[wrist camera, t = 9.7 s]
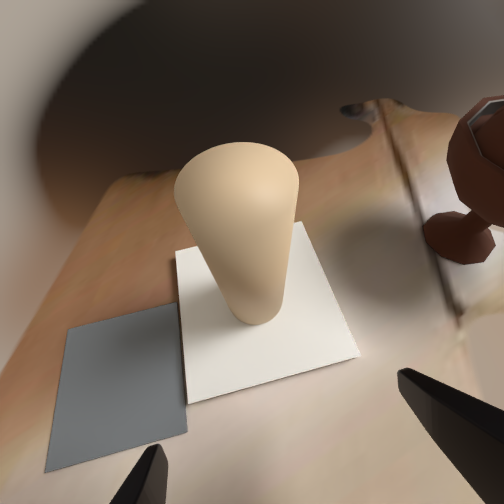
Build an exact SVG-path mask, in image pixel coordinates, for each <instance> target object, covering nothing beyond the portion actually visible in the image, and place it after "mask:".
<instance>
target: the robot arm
mask: <svg viewBox="0 0 504 504" xmlns="http://www.w3.org/2000/svg"><path fill="white" fill-rule="evenodd" d="M397 377H398V388H399V391H400V393H401V395H402V396H403V398H404V399H405V400H406V402H407V403H408V405H409V406H410V408H411V409H412V410H413V412H414V413H415V415H416V416H417V418H418V419H419V421H420V422H421V423H422V425H423V426H424V428H425V429H426V431H427V432H428V433H429V435H430V436H431V438H432V439H433V440H434V441H435V443H436V444H437V445H438V446H439V448H440V449H441V450H442V451H443V453H444V454H445V455H446V456H447V457H448V459H449V460H450V461H451V462H452V464H453V465H454V466H455V467H456V468H457V470H458V471H459V472H460V473H461V474H462V476H463V477H464V478H465V479H466V481H467V482H468V483H469V484H470V485H471V487H472V488H473V489H474V490H475V492H476V493H477V494H478V495H479V496H480V498H481V499H482V500H483V501H484V503H485V504H504V411H503V410H501V409H499V408H497V407H494V406H492V405H490V404H488V403H486V402H483V401H481V400H479V399H477V398H475V397H472V396H470V395H468V394H466V393H464V392H461V391H459V390H457V389H455V388H453V387H450V386H448V385H446V384H444V383H442V382H439V381H437V380H435V379H433V378H431V377H428V376H426V375H424V374H422V373H420V372H417V371H415V370H413V369H411V368H404V369H401V370H398V372H397ZM167 477H168V460H167V457H166V455H165V453H164V451H163V448H162V446H161V445H160V444H155V445H152V446H149V447H148V448H147V449H146V450H145V451H144V453H143V454H142V456H141V457H140V459H139V460H138V462H137V463H136V465H135V466H134V468H133V469H132V471H131V472H130V474H129V475H128V477H127V478H126V480H125V481H124V483H123V484H122V486H121V487H120V489H119V490H118V492H117V493H116V495H115V496H114V497H113V499H112V500H111V502H110V503H109V504H165V503H166V490H167Z"/></svg>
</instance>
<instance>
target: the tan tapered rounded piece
mask: <svg viewBox="0 0 504 504" xmlns="http://www.w3.org/2000/svg"><path fill="white" fill-rule="evenodd" d="M298 188H299V178H298V173H297V171H296V168H295V166H294V165H293V163H292V162H291V161H290V160H289V159H288V158H287V157H286V156H285V155H284V154H282V153H281V152H279V151H278V150H275V149H274V148H271V147H269V146H266V145H262V144H257V143H249V142H238V143H230V144H224V145H220V146H217V147H213V148H211V149H209V150H206V151H204V152H202V153H201V154H199V155H197V156H196V157H194V158H193V159H192V160H191V161H189V162H188V163H187V165H185V167H184V168H183V169H182V170H181V172H180V173H179V175H178V177H177V179H176V182H175V187H174V197H175V202H176V204H177V207H178V209H179V211H180V213H181V215H182V217H183V219H184V221H185V222H186V224H187V226H188V228H189V230H190V232H191V234H192V236H193V238H194V240H195V242H196V244H197V246H198V248H199V250H200V252H201V254H202V256H203V258H204V260H205V262H206V264H207V266H208V268H209V269H210V271H211V273H212V275H213V277H214V279H215V281H216V283H217V285H218V287H219V289H220V291H221V293H222V295H223V297H224V299H225V301H226V303H227V305H228V307H229V309H230V311H231V312H232V314H233V315H234V316H235V317H236V318H237V319H238V320H240V321H241V322H243V323H246V324H250V325H260V324H264V323H266V322H268V321H270V320H272V319H273V318H274V317H275V316H276V315H277V314H278V312H279V311H280V309H281V306H282V302H283V295H284V288H285V281H286V274H287V267H288V259H289V252H290V245H291V238H292V231H293V224H294V216H295V209H296V202H297V195H298Z"/></svg>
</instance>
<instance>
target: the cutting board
mask: <svg viewBox="0 0 504 504" xmlns="http://www.w3.org/2000/svg"><path fill="white" fill-rule="evenodd" d="M175 252H176V264H177V276H178V288H179V300H180V312H181V324H182V336H183V348H184V360H185V372H186V384H187V396H188V404H191V403H195V402H199V401H202V400H206V399H209V398H213V397H217V396H220V395H224V394H227V393H231V392H234V391H238V390H242V389H245V388H249V387H252V386H256V385H259V384H263V383H267V382H270V381H274V380H277V379H281V378H284V377H288V376H292V375H295V374H299V373H302V372H306V371H309V370H313V369H317V368H320V367H324V366H327V365H331V364H334V363H338V362H342V361H345V360H349V359H352V358H356V357H359V356H361V354H360V352H359V350H358V347H357V345H356V343H355V341H354V338H353V336H352V334H351V332H350V329H349V327H348V325H347V323H346V320H345V318H344V316H343V314H342V311H341V309H340V307H339V305H338V302H337V300H336V298H335V296H334V293H333V291H332V289H331V287H330V284H329V282H328V280H327V278H326V275H325V273H324V271H323V269H322V266H321V264H320V262H319V260H318V257H317V255H316V253H315V251H314V248H313V246H312V244H311V242H310V239H309V237H308V235H307V233H306V230H305V228H304V226H303V224H302V221H300V222H296V223H294V224H293V231H292V238H291V245H290V252H289V259H288V267H287V274H286V281H285V288H284V295H283V302H282V306H281V309H280V311H279V312H278V314H277V315H276V316H275V317H274V318H273V319H272V320H270V321H268V322H266V323H264V324H260V325H250V324H246V323H243V322H241V321H240V320H238V319H237V318H236V317H235V316H234V315H233V314H232V312H231V311H230V309H229V307H228V305H227V303H226V301H225V299H224V297H223V295H222V293H221V291H220V289H219V287H218V285H217V283H216V281H215V279H214V277H213V275H212V273H211V271H210V269H209V268H208V266H207V264H206V262H205V260H204V258H203V256H202V254H201V252H200V250H199V248H198V246H196V247H192V248H188V249H183V250H179V251H175Z"/></svg>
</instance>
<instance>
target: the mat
mask: <svg viewBox="0 0 504 504" xmlns="http://www.w3.org/2000/svg"><path fill="white" fill-rule="evenodd" d="M186 432H188V431H187V419H186V406H185V393H184V380H183V368H182V355H181V342H180V329H179V316H178V304H177V302H174V303H170V304H167V305H163V306H159V307H155V308H151V309H147V310H143V311H139V312H135V313H131V314H127V315H123V316H119V317H115V318H111V319H107V320H103V321H99V322H95V323H91V324H87V325H83V326H79V327H75V328H72V329H68V333H67V339H66V345H65V352H64V358H63V364H62V370H61V376H60V382H59V389H58V395H57V401H56V407H55V413H54V420H53V426H52V432H51V438H50V444H49V450H48V457H47V463H46V469H45V473H46V472H50V471H53V470H57V469H60V468H64V467H67V466H71V465H74V464H78V463H81V462H85V461H88V460H92V459H95V458H99V457H102V456H106V455H109V454H113V453H116V452H120V451H123V450H127V449H130V448H133V447H137V446H140V445H144V444H147V443H151V442H154V441H158V440H161V439H165V438H168V437H172V436H175V435H179V434H182V433H186Z"/></svg>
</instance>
